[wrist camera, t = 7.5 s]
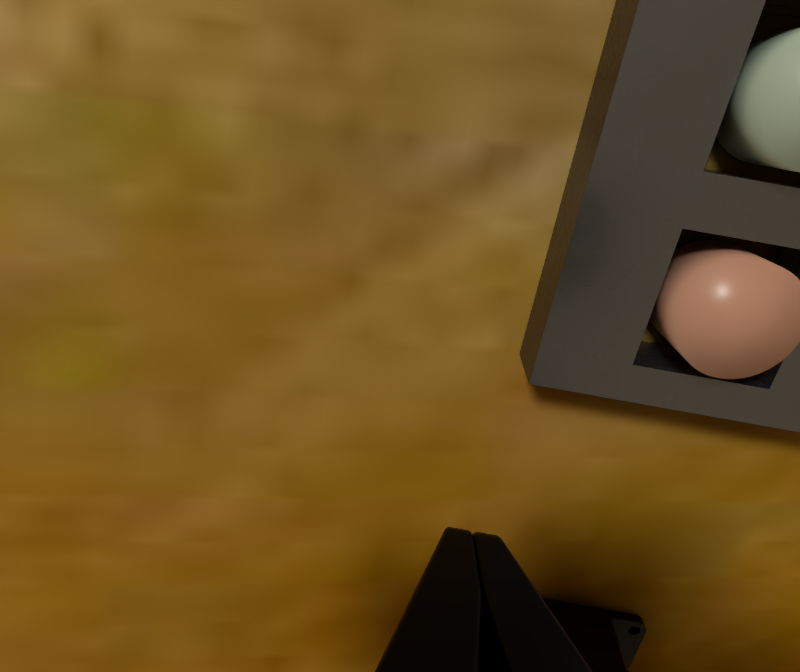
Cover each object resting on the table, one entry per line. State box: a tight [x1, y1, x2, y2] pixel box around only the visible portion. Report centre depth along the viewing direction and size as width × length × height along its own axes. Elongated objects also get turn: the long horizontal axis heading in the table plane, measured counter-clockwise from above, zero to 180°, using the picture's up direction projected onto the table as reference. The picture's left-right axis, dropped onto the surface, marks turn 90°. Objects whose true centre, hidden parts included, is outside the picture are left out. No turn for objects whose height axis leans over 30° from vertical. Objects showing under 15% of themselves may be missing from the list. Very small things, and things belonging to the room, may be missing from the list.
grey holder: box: [520, 0, 800, 432], centre depth 15 cm, size 10×19×2 cm, turn 171°
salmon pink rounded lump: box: [649, 240, 800, 379], centre depth 17 cm, size 4×4×3 cm
